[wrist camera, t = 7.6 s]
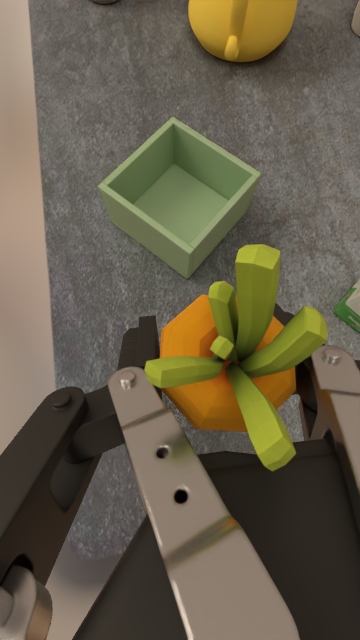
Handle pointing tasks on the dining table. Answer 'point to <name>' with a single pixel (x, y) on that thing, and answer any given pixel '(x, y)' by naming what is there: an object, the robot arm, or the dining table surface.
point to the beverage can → (104, 1)
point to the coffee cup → (356, 20)
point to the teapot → (241, 26)
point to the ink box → (350, 307)
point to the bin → (179, 195)
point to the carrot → (238, 356)
